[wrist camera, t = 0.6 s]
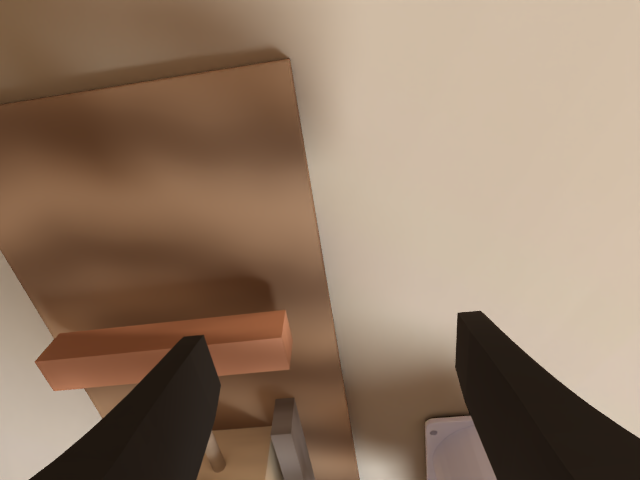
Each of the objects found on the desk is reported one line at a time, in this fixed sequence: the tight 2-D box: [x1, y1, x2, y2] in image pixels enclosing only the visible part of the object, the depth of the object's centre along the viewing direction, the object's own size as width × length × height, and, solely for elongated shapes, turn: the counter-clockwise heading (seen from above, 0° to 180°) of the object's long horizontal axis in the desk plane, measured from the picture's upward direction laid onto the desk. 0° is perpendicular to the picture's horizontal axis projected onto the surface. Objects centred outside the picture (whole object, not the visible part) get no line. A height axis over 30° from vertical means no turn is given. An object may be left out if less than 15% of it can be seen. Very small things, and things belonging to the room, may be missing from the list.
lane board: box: [0, 59, 360, 480], centre depth 23 cm, size 32×16×4 cm, turn 8°
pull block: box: [35, 310, 293, 480], centre depth 23 cm, size 16×12×6 cm
